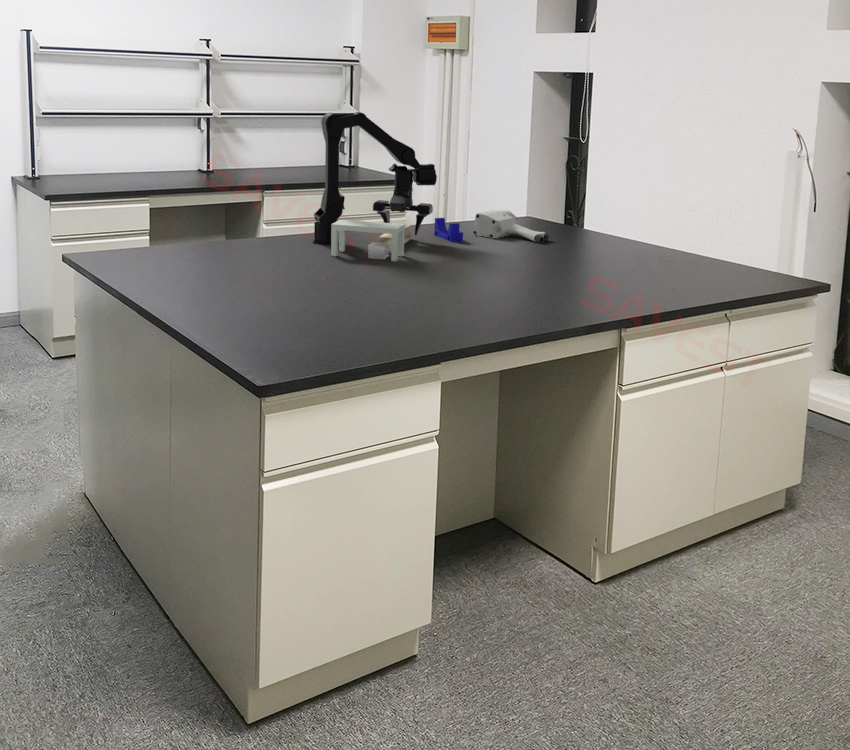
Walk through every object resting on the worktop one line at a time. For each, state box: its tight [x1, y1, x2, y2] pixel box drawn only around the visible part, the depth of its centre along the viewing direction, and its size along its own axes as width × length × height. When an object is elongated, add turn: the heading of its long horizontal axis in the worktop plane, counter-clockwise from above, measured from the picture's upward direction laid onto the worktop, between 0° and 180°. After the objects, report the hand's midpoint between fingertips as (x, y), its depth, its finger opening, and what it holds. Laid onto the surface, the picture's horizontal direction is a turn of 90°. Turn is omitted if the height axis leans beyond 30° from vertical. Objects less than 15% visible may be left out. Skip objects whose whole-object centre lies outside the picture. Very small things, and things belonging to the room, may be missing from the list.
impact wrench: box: [472, 209, 550, 244], centre depth 338 cm, size 8×23×25 cm
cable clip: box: [433, 217, 464, 243], centre depth 329 cm, size 12×4×6 cm, turn 26°
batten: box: [378, 224, 412, 254], centre depth 313 cm, size 4×25×5 cm, turn 167°
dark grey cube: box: [367, 241, 390, 260], centre depth 295 cm, size 5×5×4 cm
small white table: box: [330, 219, 406, 262], centre depth 295 cm, size 20×9×10 cm, turn 77°
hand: (402, 234), depth 322 cm, fingers open, 9 cm apart
